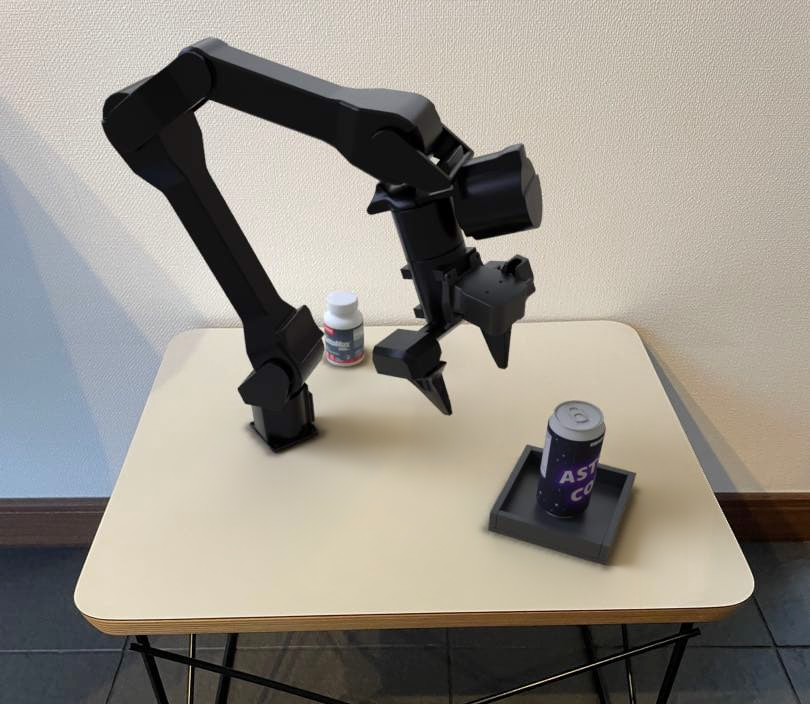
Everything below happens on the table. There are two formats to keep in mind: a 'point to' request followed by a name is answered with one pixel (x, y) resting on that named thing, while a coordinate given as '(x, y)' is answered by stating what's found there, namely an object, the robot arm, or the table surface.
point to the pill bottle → (344, 329)
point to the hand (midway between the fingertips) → (476, 390)
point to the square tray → (571, 535)
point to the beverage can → (570, 458)
